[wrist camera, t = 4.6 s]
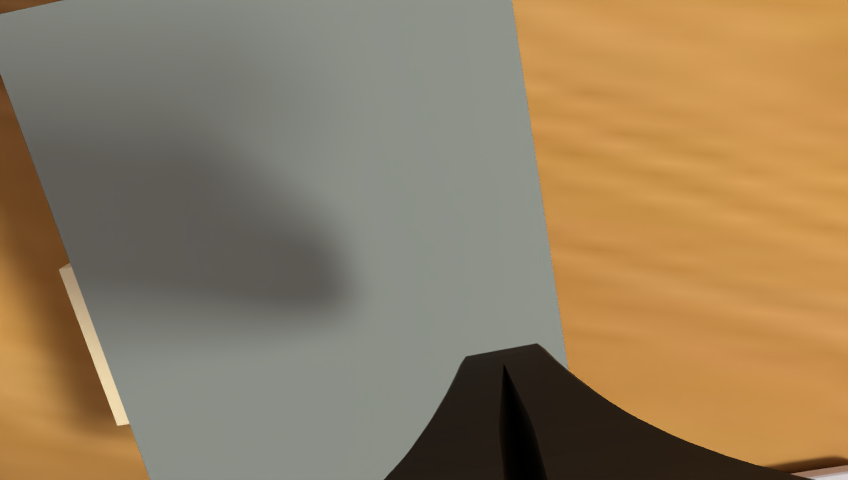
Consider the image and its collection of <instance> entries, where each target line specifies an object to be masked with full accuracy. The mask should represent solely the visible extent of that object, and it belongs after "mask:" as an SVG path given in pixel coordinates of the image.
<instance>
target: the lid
mask: <svg viewBox="0 0 848 480" xmlns="http://www.w3.org/2000/svg"><path fill="white" fill-rule="evenodd" d="M0 74H1V77H2V80H3V83H4V85H5V88H6V91H7V93H8V96H9V99H10V102H11V104H12V107H13V110H14V112H15V115H16V118H17V120H18V123H19V126H20V129H21V131H22V134H23V137H24V139H25V142H26V145H27V148H28V150H29V153H30V156H31V158H32V161H33V164H34V166H35V169H36V172H37V175H38V177H39V180H40V183H41V185H42V188H43V191H44V194H45V196H46V199H47V202H48V204H49V207H50V210H51V212H52V215H53V218H54V221H55V223H56V226H57V229H58V231H59V234H60V237H61V240H62V242H63V245H64V248H65V250H66V253H67V256H68V259H69V261H70V263H69V264H67V265H65V266H64V267H62V268H60V269H59V272H60V274H61V277H62V280H63V282H64V285H65V288H66V290H67V293H68V296H69V298H70V301H71V304H72V306H73V309H74V312H75V314H76V317H77V320H78V322H79V325H80V328H81V330H82V333H83V335H84V338H85V341H86V343H87V346H88V349H89V351H90V354H91V357H92V359H93V362H94V365H95V367H96V370H97V373H98V375H99V378H100V381H101V383H102V386H103V389H104V391H105V394H106V397H107V399H108V402H109V405H110V407H111V410H112V413H113V415H114V418H115V421H116V423H117V426H120V425H125V424H130V426H131V429H132V432H133V434H134V437H135V440H136V443H137V445H138V448H139V451H140V453H141V456H142V459H143V462H144V464H145V467H146V470H147V472H148V475H149V478H150V480H384V479H385V478H386V477H387V475H388V474H389V473H390V472H391V471H392V470H393V469H394V468H395V467H396V466H397V465H398V463H399V462H400V461H401V460H402V459H403V458H404V457H405V455H406V454H407V453H408V452H409V450H410V449H411V448H412V446H413V445H414V443H415V442H416V440H417V439H418V438H419V436H420V435H421V433H422V432H423V430H424V429H425V427H426V426H427V425H428V423H429V422H430V420H431V419H432V417H433V415H434V414H435V412H436V410H437V408H438V407H439V405H440V403H441V402H442V400H443V398H444V396H445V395H446V393H447V391H448V389H449V387H450V385H451V383H452V381H453V379H454V377H455V375H456V373H457V371H458V369H459V366H460V364H461V362H462V361H463V360H464V358H465V357H466V356H470V355H476V354H481V353H487V352H492V351H497V350H503V349H508V348H514V347H519V346H524V345H530V344H535V343H538V344H539V345H540V346H542V347H543V348H545V349H546V350H547V351H548V352H549V353H550V354H551V355H552V356H553V357H554V358H555V359H556V360H557V361H558V362H559V363H560V364H561V365H563V366H564V367H565V368H566V369H567V370H568V365H567V358H566V352H565V345H564V339H563V332H562V326H561V319H560V312H559V306H558V299H557V293H556V286H555V280H554V273H553V267H552V260H551V254H550V247H549V241H548V234H547V227H546V221H545V214H544V208H543V201H542V195H541V188H540V182H539V175H538V169H537V162H536V156H535V149H534V142H533V136H532V129H531V123H530V116H529V110H528V103H527V97H526V90H525V84H524V77H523V70H522V64H521V57H520V51H519V44H518V38H517V31H516V25H515V18H514V12H513V5H512V0H62V1H57V2H53V3H48V4H44V5H39V6H35V7H30V8H26V9H21V10H16V11H12V12H7V13H3V14H0Z"/></svg>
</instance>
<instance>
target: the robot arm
mask: <svg viewBox="0 0 848 480" xmlns="http://www.w3.org/2000/svg"><path fill="white" fill-rule="evenodd" d="M384 480H848V465H845V466H838V467H831V468H825V469H818V470H811V471H805V472H798V473H792V474H789V473H785V472H781V471H777V470H773V469H770V468H766V467H762V466H758V465H754V464H751V463H748V462H745V461H741V460H738V459H735V458H731V457H728V456H725V455H723V454H720V453H717V452H714V451H712V450H709V449H706V448H703V447H701V446H698V445H695V444H692V443H690V442H687V441H685V440H683V439H680V438H678V437H675V436H673V435H671V434H669V433H667V432H665V431H662V430H660V429H658V428H656V427H654V426H652V425H650V424H648V423H646V422H644V421H642V420H640V419H638V418H636V417H634V416H633V415H631V414H629V413H627V412H625V411H624V410H622V409H621V408H619V407H617V406H616V405H614V404H613V403H611V402H609V401H608V400H607V399H605V398H604V397H602V396H601V395H599V394H598V393H597V392H595V391H594V390H593V389H591V388H590V387H589V386H587V385H586V384H585V383H583V382H582V381H581V380H579V379H578V378H577V377H576V376H574V375H573V374H572V373H571V372H569V371H568V370H567V369H566V368H565V367H564V366H563V365H561V364H560V363H559V362H558V361H557V360H556V359H555V358H554V357H553V356H552V355H551V354H550V353H549V352H548V351H547V350H546V349H545V348H543V347H542V346H540V345H539V344H538V343H535V344H530V345H524V346H519V347H514V348H508V349H503V350H497V351H492V352H487V353H481V354H476V355H470V356H466V357H465V358H464V360H463V361H462V362H461V364H460V366H459V369H458V371H457V373H456V375H455V377H454V379H453V381H452V383H451V385H450V387H449V389H448V391H447V393H446V395H445V396H444V398H443V400H442V402H441V403H440V405H439V407H438V408H437V410H436V412H435V414H434V415H433V417H432V419H431V420H430V422H429V423H428V425H427V426H426V427H425V429H424V430H423V432H422V433H421V435H420V436H419V438H418V439H417V440H416V442H415V443H414V445H413V446H412V448H411V449H410V450H409V452H408V453H407V454H406V455H405V457H404V458H403V459H402V460H401V461H400V462H399V463H398V465H397V466H396V467H395V468H394V469H393V470H392V471H391V472H390V473H389V474H388V475H387V477H386V478H385V479H384Z"/></svg>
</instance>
